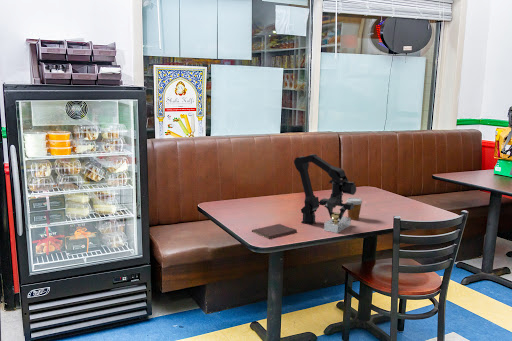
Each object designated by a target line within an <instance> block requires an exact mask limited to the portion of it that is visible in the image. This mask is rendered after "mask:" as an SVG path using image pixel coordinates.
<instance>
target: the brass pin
mask: <svg viewBox="0 0 512 341" xmlns="http://www.w3.org/2000/svg"><path fill="white" fill-rule="evenodd" d="M332 218H333V222H336V223H338V219H340V211H339V212H338V211H333V212H332V213H331V218H330V219H332Z"/></svg>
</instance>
